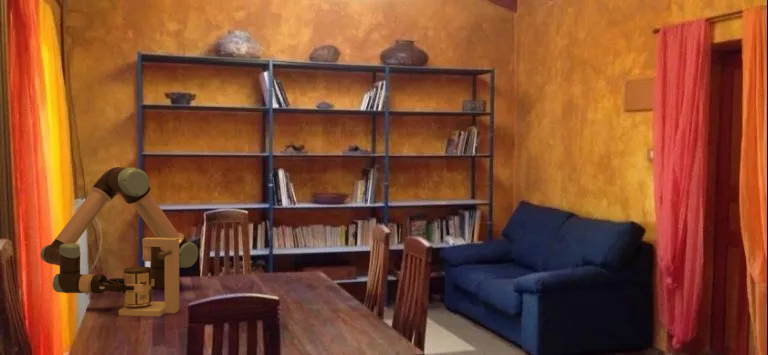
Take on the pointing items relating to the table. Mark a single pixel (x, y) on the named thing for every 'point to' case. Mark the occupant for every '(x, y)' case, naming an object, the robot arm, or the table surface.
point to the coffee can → (138, 277)
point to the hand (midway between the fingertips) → (148, 285)
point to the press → (170, 279)
